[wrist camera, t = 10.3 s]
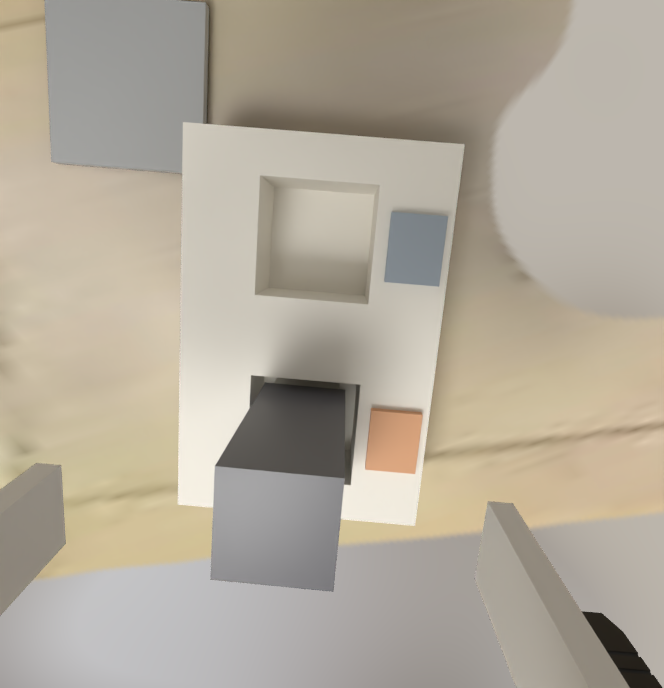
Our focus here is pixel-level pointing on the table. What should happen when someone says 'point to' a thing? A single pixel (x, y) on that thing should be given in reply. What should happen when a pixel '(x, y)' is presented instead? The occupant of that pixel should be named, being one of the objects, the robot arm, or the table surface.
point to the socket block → (314, 294)
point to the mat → (125, 80)
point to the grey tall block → (282, 489)
